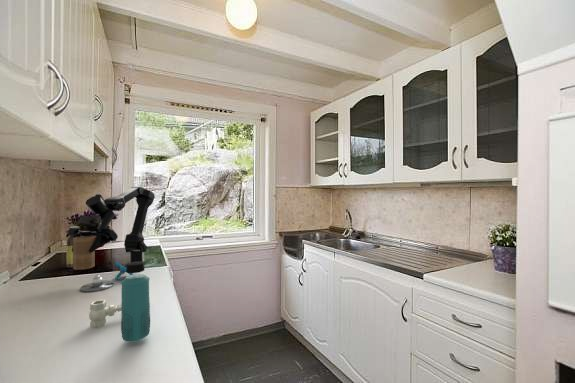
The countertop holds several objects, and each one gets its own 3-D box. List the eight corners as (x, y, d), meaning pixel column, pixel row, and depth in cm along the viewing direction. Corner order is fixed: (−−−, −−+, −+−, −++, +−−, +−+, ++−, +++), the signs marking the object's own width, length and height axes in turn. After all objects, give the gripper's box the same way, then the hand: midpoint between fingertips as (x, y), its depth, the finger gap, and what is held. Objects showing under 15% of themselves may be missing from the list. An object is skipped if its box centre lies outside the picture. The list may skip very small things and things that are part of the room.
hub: (76, 287, 110) (76, 276, 109) (108, 280, 118) (108, 270, 118) (84, 294, 102) (84, 282, 102) (117, 286, 110) (117, 275, 110)
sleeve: (70, 268, 111) (70, 238, 111) (89, 264, 117) (89, 235, 117) (78, 270, 108) (78, 239, 108) (96, 266, 113) (97, 237, 113)
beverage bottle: (154, 340, 71) (154, 262, 71) (125, 351, 66) (125, 267, 66) (144, 331, 75) (144, 258, 75) (116, 341, 70) (116, 262, 70)
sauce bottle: (81, 267, 139) (81, 227, 138) (65, 268, 135) (65, 228, 135) (82, 264, 144) (82, 225, 144) (67, 265, 141) (67, 226, 141)
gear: (137, 275, 119) (118, 261, 116) (126, 287, 116) (106, 273, 113) (134, 273, 128) (116, 259, 125) (124, 284, 125) (105, 270, 122)
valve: (92, 332, 75) (139, 317, 84) (92, 307, 75) (139, 295, 84) (86, 324, 80) (132, 311, 89) (86, 301, 80) (132, 290, 88)
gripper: (71, 208, 117) (46, 239, 106) (112, 209, 115) (91, 240, 104) (86, 225, 125) (64, 255, 114) (125, 225, 123) (107, 256, 112)
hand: (81, 251), depth 111 cm, fingers closed on sleeve, 7 cm apart
